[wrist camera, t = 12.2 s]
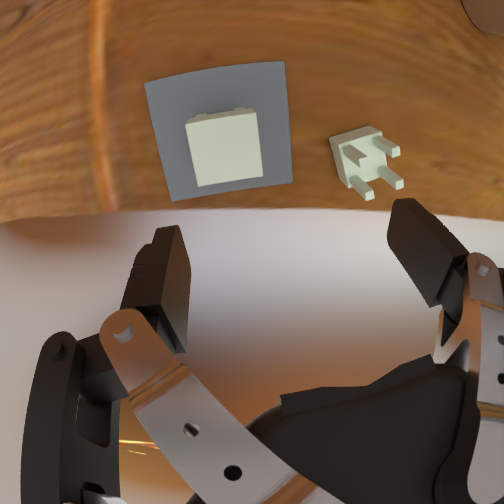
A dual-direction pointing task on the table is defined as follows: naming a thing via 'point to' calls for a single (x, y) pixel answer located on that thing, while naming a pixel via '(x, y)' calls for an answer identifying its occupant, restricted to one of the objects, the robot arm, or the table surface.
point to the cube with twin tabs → (225, 146)
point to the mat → (215, 101)
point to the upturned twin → (364, 159)
